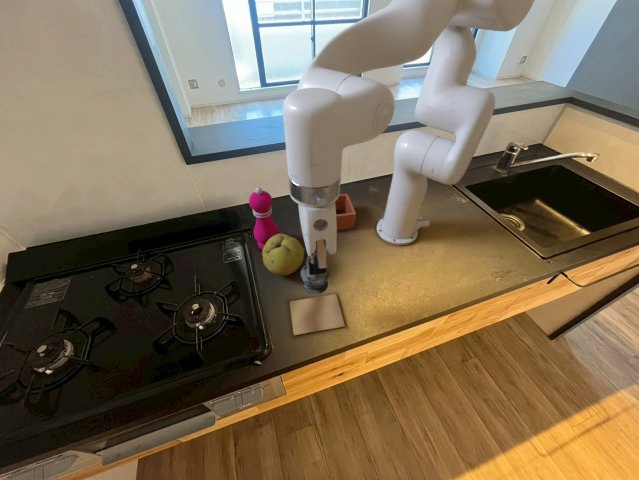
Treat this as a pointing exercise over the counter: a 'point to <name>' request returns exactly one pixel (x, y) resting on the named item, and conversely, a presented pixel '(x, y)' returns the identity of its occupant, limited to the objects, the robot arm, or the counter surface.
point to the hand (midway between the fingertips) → (315, 263)
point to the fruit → (282, 254)
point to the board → (316, 314)
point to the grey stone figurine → (314, 279)
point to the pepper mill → (262, 216)
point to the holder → (349, 218)
